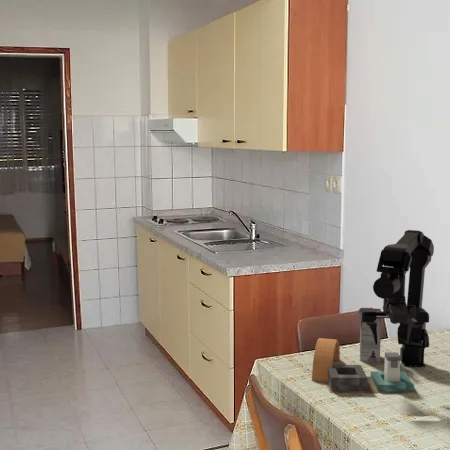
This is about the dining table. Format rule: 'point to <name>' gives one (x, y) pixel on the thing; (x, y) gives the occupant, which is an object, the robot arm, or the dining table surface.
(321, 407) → the dining table surface
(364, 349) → the coffee box
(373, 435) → the dining table surface
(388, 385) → the dock
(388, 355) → the plug
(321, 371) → the arch
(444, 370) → the dining table surface
